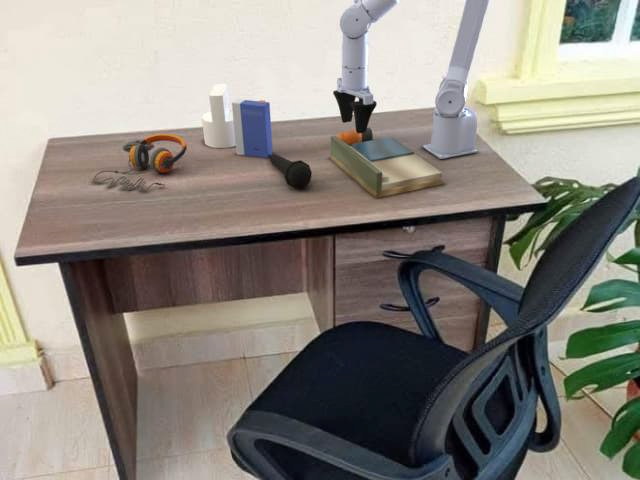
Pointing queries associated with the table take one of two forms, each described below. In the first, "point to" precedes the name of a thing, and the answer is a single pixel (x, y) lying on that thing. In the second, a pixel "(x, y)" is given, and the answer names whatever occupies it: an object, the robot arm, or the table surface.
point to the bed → (384, 166)
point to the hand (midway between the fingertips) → (353, 127)
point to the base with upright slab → (219, 119)
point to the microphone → (292, 171)
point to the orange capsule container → (356, 136)
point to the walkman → (252, 128)
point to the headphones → (159, 159)
